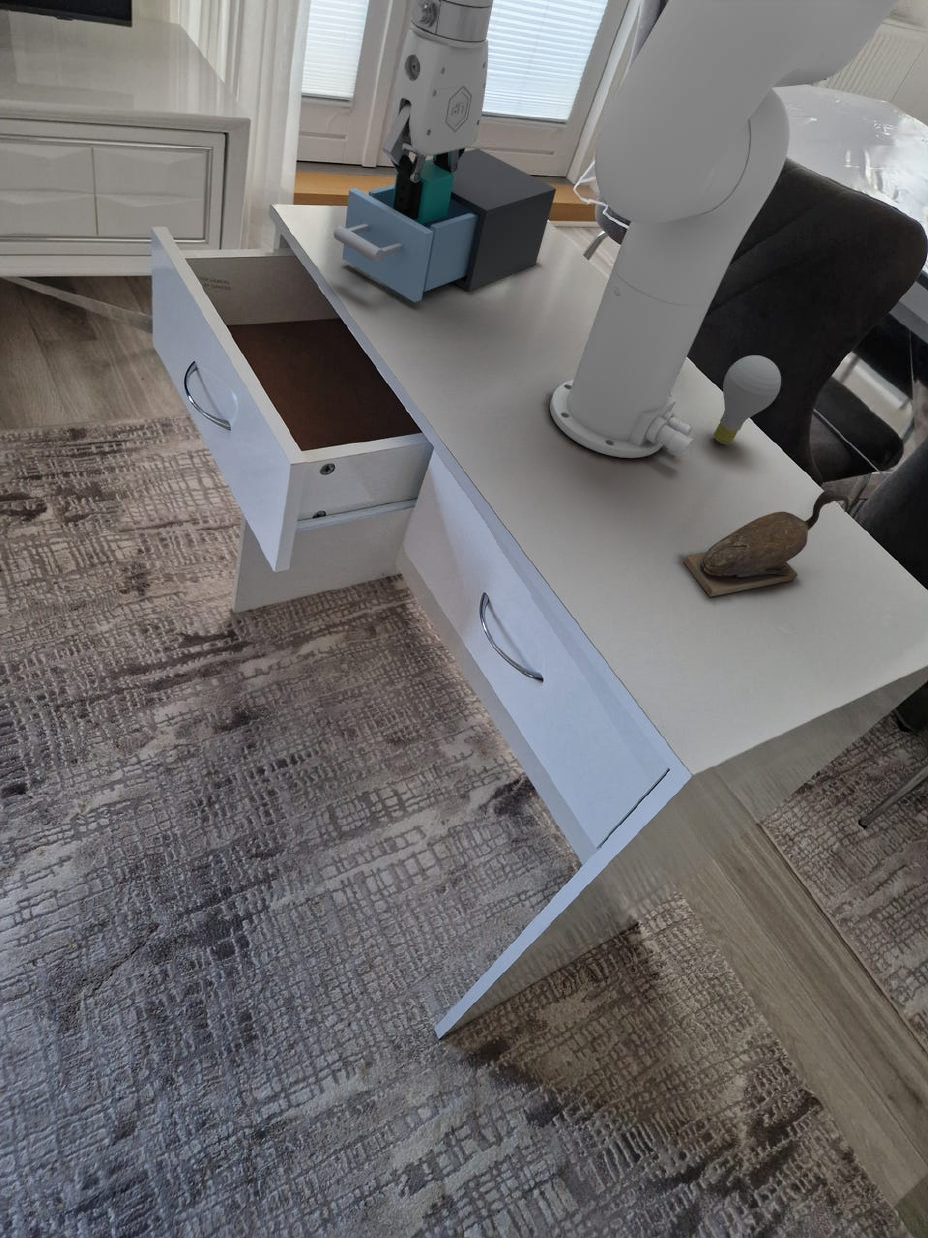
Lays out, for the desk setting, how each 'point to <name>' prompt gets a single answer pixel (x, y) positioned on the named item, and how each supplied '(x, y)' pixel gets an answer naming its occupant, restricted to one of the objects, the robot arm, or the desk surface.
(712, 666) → the desk surface
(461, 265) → the blue drawer
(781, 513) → the figurine
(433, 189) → the teal cube
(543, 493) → the desk surface
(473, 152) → the drawer cabinet
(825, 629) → the desk surface
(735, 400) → the light bulb
